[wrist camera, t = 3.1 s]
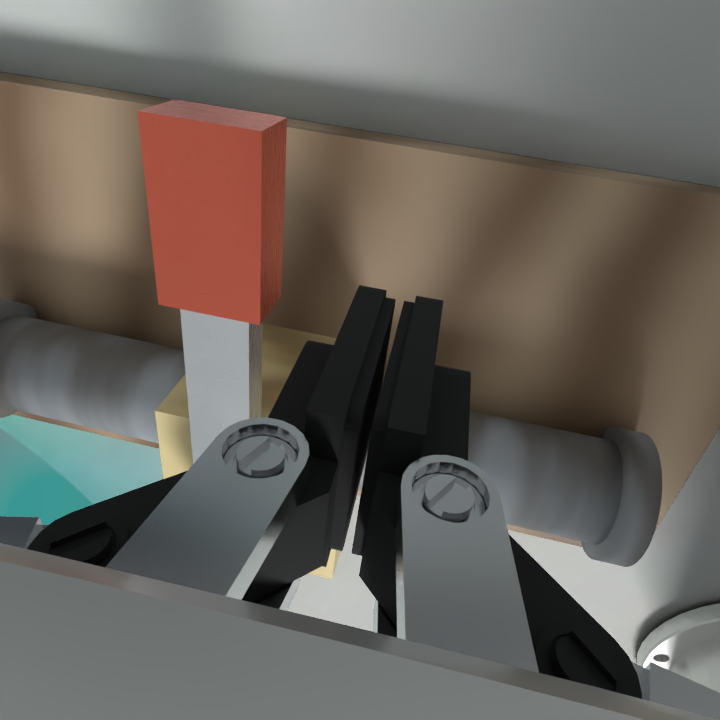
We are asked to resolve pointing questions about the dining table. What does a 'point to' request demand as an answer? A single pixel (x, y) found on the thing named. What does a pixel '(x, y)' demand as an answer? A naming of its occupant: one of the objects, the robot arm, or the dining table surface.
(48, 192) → the pipe board
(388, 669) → the robot arm
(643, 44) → the dining table surface
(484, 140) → the dining table surface
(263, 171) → the valve lever
